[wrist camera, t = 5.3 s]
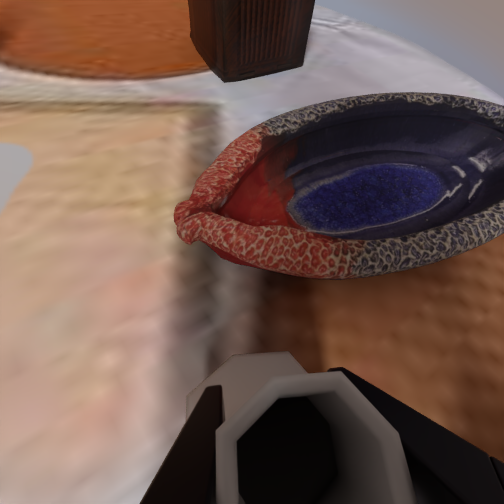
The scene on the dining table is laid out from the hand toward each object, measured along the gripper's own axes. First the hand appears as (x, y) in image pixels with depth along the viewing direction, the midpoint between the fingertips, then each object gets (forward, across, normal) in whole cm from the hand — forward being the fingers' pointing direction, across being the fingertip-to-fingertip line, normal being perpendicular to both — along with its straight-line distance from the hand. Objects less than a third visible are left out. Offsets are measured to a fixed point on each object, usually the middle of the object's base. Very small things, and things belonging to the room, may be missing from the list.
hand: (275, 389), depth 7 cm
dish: (+16, -11, -3) cm, 20 cm away
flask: (+4, 0, +6) cm, 7 cm away
